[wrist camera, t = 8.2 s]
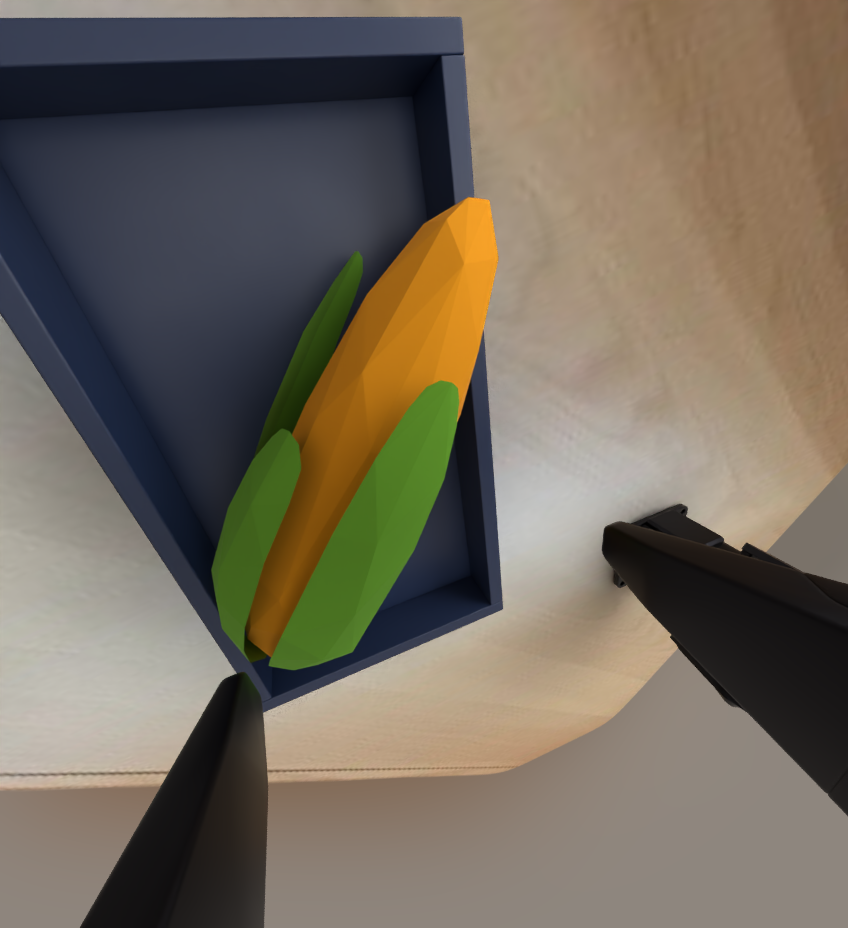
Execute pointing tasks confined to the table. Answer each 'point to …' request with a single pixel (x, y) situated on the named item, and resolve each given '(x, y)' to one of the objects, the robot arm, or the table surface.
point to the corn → (355, 447)
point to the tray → (232, 265)
